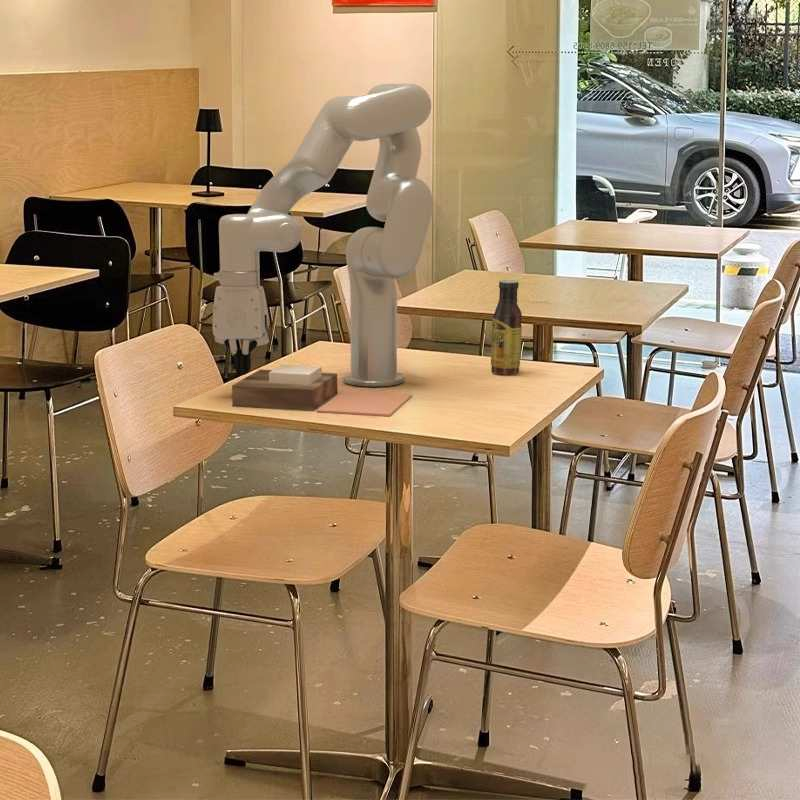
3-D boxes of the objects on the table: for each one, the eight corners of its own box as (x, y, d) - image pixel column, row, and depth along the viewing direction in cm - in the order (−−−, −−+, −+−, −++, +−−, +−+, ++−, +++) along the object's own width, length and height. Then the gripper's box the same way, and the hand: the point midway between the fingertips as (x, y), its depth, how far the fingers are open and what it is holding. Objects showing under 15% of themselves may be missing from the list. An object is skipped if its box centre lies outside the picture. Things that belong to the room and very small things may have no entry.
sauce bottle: (485, 371, 291) (487, 279, 287) (512, 369, 293) (514, 278, 289) (498, 377, 285) (500, 283, 281) (525, 375, 287) (527, 281, 283)
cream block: (282, 374, 267) (282, 364, 267) (321, 376, 265) (321, 366, 265) (269, 382, 259) (268, 372, 259) (309, 384, 258) (309, 374, 257)
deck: (260, 389, 273) (260, 369, 272) (337, 393, 269) (337, 373, 269) (232, 406, 258) (232, 385, 257) (313, 410, 254) (313, 389, 253)
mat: (343, 392, 270) (343, 390, 270) (412, 396, 267) (412, 394, 267) (316, 412, 253) (316, 410, 253) (389, 416, 250) (389, 414, 250)
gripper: (196, 280, 259) (199, 375, 263) (270, 283, 255) (272, 379, 259) (210, 275, 266) (213, 368, 270) (283, 278, 263) (285, 371, 267)
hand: (242, 373), depth 265 cm, fingers closed
